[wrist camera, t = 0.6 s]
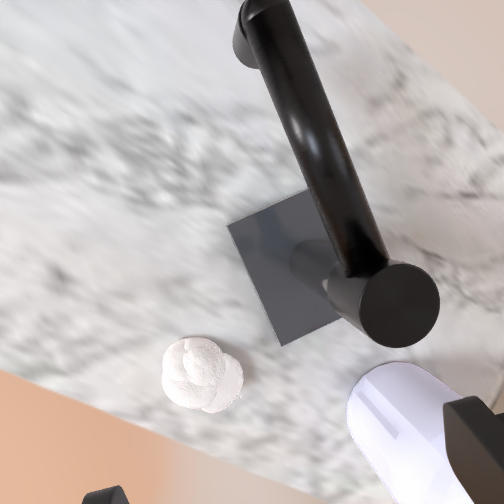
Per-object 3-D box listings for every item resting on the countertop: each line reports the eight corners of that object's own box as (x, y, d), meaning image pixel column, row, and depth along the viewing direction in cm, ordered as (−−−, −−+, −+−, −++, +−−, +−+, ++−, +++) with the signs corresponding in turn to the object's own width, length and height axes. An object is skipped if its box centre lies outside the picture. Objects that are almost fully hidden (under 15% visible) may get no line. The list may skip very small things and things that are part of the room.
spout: (212, 34, 23) (218, -22, 17) (280, 6, 23) (308, -58, 17) (336, 327, 25) (377, 363, 20) (395, 299, 26) (452, 325, 20)
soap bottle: (439, 355, 39) (843, 607, 15) (436, 449, 40) (809, 825, 16) (344, 363, 38) (615, 650, 14) (344, 459, 39) (596, 883, 15)
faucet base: (225, 224, 35) (241, 235, 23) (333, 175, 36) (401, 162, 24) (277, 341, 37) (317, 404, 25) (380, 291, 37) (463, 331, 26)
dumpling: (154, 383, 36) (144, 391, 32) (180, 325, 37) (174, 327, 33) (230, 416, 36) (230, 430, 32) (255, 358, 37) (257, 364, 33)
